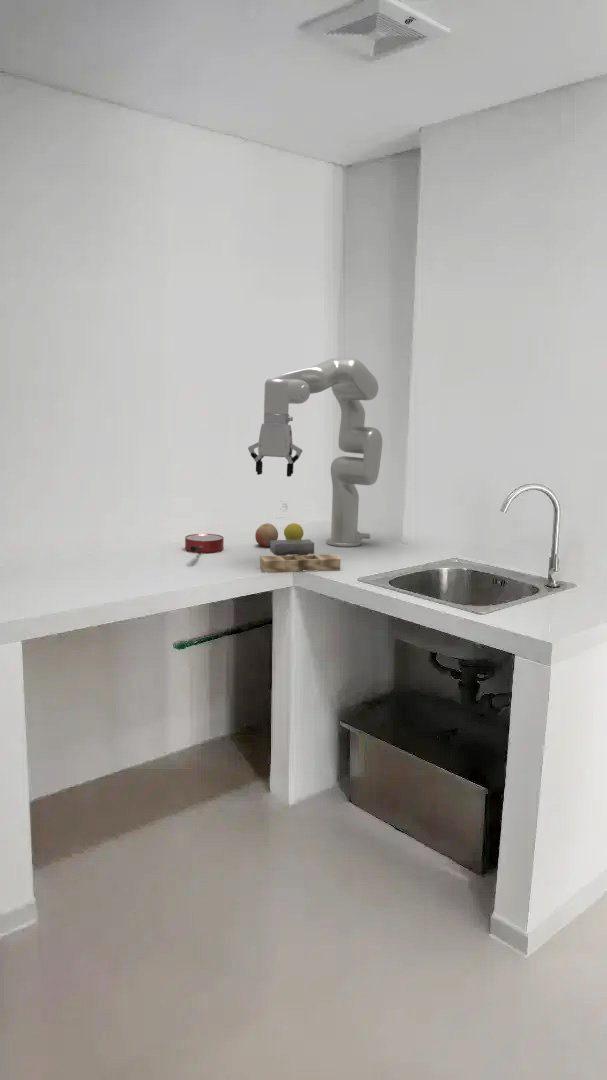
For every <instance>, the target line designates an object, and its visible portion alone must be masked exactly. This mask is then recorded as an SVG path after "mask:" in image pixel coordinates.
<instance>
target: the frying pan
mask: <svg viewBox="0 0 607 1080" xmlns="http://www.w3.org/2000/svg"><path fill="white" fill-rule="evenodd" d="M224 540H225V539H224V536H223V535H220V534H216V533H214V534H213V533H195V534H193V533H192V534H188V535H186V536H185V537H184V543H185V544H184V549H185V551H186V552H189V553H193V554H214V553H220V552H222V551H223V550H224V547H225V546H224V545H225V544H224Z"/></svg>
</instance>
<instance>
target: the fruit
mask: <svg viewBox="0 0 607 1080" xmlns="http://www.w3.org/2000/svg"><path fill="white" fill-rule="evenodd" d="M254 538H255V541H256V543H257V544H258V545H259V546H260V547H262V546H263V547H264V548H268V546H269V547H270V541H271V540H279V531H278V529H277V527H276V526H274V524H272V523H267V522H266V523H263V524H261V525H260V526H259V527H258V528H257V529H256V530H255V537H254ZM263 547H262V548H263Z"/></svg>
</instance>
